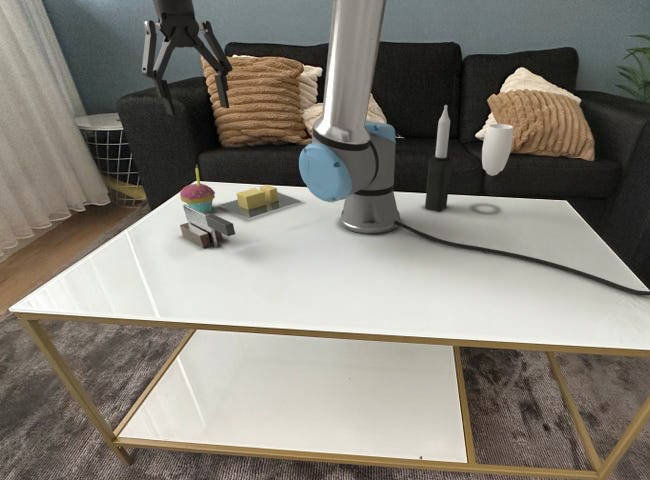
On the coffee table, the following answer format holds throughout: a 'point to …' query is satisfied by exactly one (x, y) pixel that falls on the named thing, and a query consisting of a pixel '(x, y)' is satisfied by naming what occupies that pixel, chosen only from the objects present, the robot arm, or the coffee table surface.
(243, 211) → the plate
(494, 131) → the cup
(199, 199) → the cupcake
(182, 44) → the robot arm
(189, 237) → the chocolate bar
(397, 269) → the coffee table surface
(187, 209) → the cleaver
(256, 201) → the butter
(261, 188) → the butter pat
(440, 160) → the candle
